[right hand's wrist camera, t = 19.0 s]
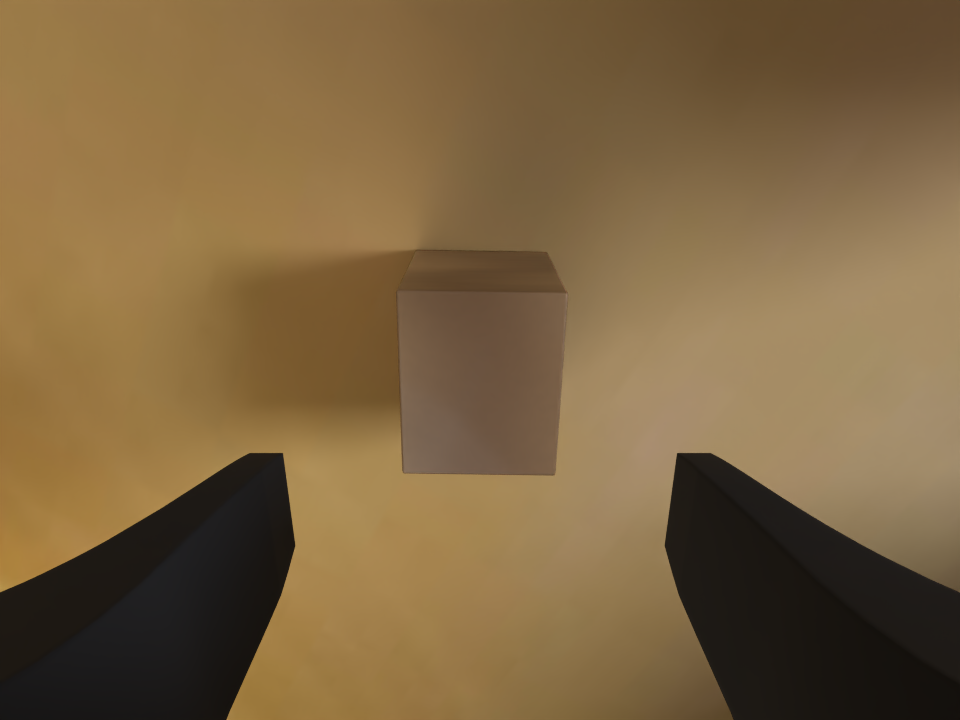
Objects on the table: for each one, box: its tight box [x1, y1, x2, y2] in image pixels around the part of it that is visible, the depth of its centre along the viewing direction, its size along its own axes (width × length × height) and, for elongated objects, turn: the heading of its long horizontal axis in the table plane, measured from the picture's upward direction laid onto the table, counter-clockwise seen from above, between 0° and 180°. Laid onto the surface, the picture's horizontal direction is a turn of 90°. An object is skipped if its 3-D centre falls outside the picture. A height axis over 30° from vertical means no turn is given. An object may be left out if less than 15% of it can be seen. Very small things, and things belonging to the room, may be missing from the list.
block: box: [396, 250, 568, 475], centre depth 18 cm, size 4×5×5 cm
